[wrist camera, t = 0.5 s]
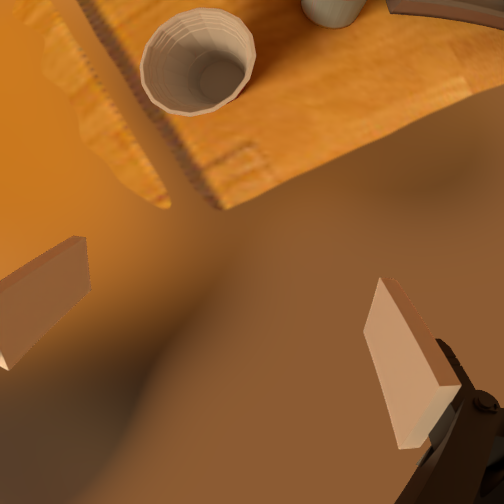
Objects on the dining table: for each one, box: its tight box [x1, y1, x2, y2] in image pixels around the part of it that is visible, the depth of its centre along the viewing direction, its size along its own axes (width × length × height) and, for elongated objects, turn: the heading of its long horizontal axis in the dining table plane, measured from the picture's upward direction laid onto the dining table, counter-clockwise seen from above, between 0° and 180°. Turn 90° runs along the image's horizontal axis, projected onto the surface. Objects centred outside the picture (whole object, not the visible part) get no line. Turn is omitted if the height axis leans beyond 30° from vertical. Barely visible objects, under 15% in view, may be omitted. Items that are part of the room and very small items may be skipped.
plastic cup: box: [140, 8, 256, 117], centre depth 29 cm, size 11×11×12 cm
